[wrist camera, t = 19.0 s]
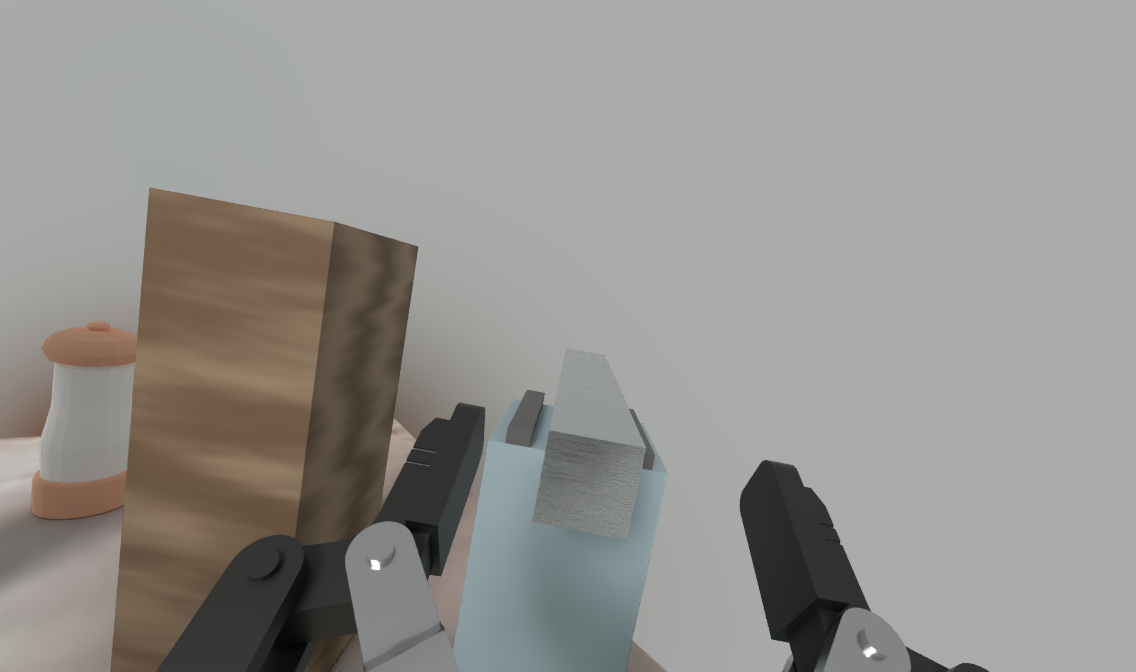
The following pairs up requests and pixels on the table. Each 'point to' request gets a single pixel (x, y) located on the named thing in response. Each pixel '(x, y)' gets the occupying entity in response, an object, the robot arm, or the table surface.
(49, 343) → the pepper shaker
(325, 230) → the tall stand
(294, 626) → the robot arm
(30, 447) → the table surface
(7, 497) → the table surface
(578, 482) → the steel bar
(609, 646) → the blue grey angular block
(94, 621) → the table surface
